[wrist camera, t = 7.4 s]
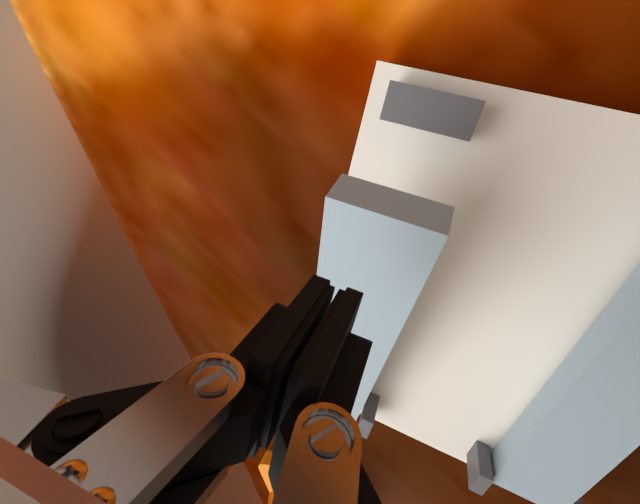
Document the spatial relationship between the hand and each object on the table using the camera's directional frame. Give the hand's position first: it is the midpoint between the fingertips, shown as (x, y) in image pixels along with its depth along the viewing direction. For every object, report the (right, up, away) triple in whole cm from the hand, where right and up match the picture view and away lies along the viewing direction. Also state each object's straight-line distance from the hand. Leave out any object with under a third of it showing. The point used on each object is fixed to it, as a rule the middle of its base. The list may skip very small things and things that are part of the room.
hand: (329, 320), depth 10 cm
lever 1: (+2, -3, +11) cm, 12 cm away
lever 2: (+18, -6, +10) cm, 22 cm away
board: (+12, -1, +15) cm, 19 cm away
